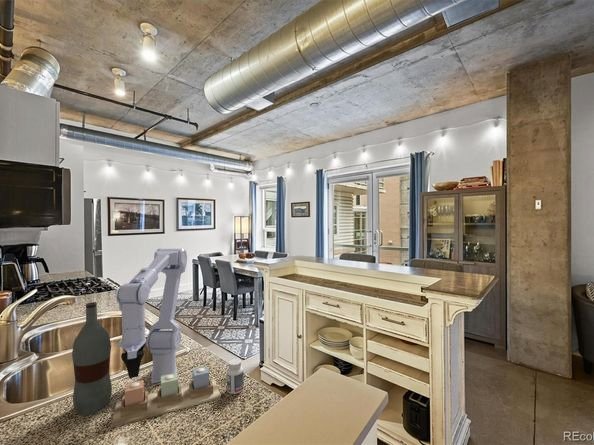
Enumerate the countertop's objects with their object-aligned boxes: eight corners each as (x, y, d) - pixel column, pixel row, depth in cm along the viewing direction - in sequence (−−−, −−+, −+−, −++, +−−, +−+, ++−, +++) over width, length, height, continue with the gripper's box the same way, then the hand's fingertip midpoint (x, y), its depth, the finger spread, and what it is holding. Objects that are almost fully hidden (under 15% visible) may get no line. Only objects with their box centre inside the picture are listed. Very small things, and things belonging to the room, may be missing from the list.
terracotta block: (126, 399, 84) (126, 382, 84) (143, 395, 86) (143, 379, 86) (125, 408, 80) (124, 391, 80) (143, 403, 82) (142, 386, 82)
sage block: (161, 390, 88) (160, 375, 88) (176, 387, 89) (176, 371, 89) (161, 398, 84) (161, 382, 84) (177, 394, 86) (177, 378, 85)
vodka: (117, 395, 89) (116, 298, 89) (102, 415, 80) (101, 307, 80) (84, 398, 88) (82, 299, 88) (65, 419, 79) (63, 309, 79)
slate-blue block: (192, 383, 91) (192, 368, 91) (207, 379, 93) (207, 365, 93) (194, 390, 88) (194, 375, 87) (209, 386, 89) (209, 371, 89)
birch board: (116, 403, 85) (116, 393, 85) (214, 380, 98) (214, 371, 98) (111, 427, 76) (111, 416, 76) (220, 398, 88) (220, 388, 88)
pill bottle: (245, 385, 94) (245, 358, 94) (241, 394, 89) (240, 366, 89) (229, 384, 95) (229, 357, 95) (224, 394, 90) (224, 365, 90)
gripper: (120, 319, 87) (120, 364, 87) (113, 337, 74) (114, 390, 74) (146, 316, 90) (147, 359, 90) (144, 332, 77) (145, 383, 77)
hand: (134, 373), depth 83 cm, fingers open, 4 cm apart
